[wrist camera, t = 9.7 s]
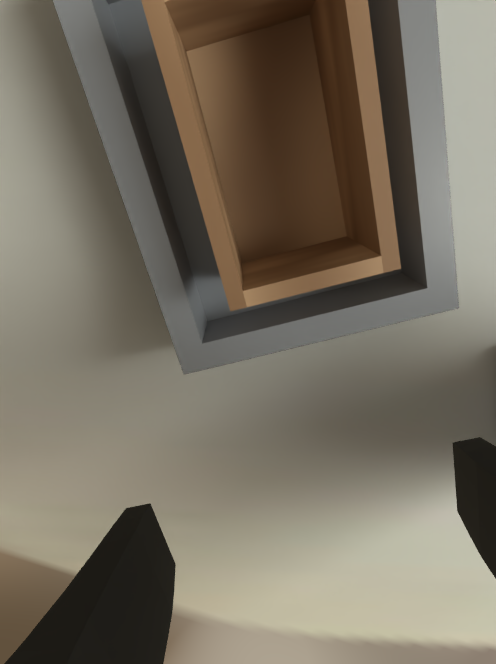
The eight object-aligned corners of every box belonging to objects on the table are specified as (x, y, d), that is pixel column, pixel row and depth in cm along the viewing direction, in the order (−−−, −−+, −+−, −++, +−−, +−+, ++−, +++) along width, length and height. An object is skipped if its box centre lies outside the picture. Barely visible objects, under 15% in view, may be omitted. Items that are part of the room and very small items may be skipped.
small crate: (319, -3, 13) (356, -88, 9) (358, 243, 16) (401, 268, 12) (168, 42, 13) (135, -18, 9) (233, 276, 16) (230, 311, 12)
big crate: (380, -115, 13) (420, -198, 10) (423, 286, 17) (459, 308, 14) (73, -16, 13) (28, -67, 10) (192, 343, 18) (183, 374, 15)
